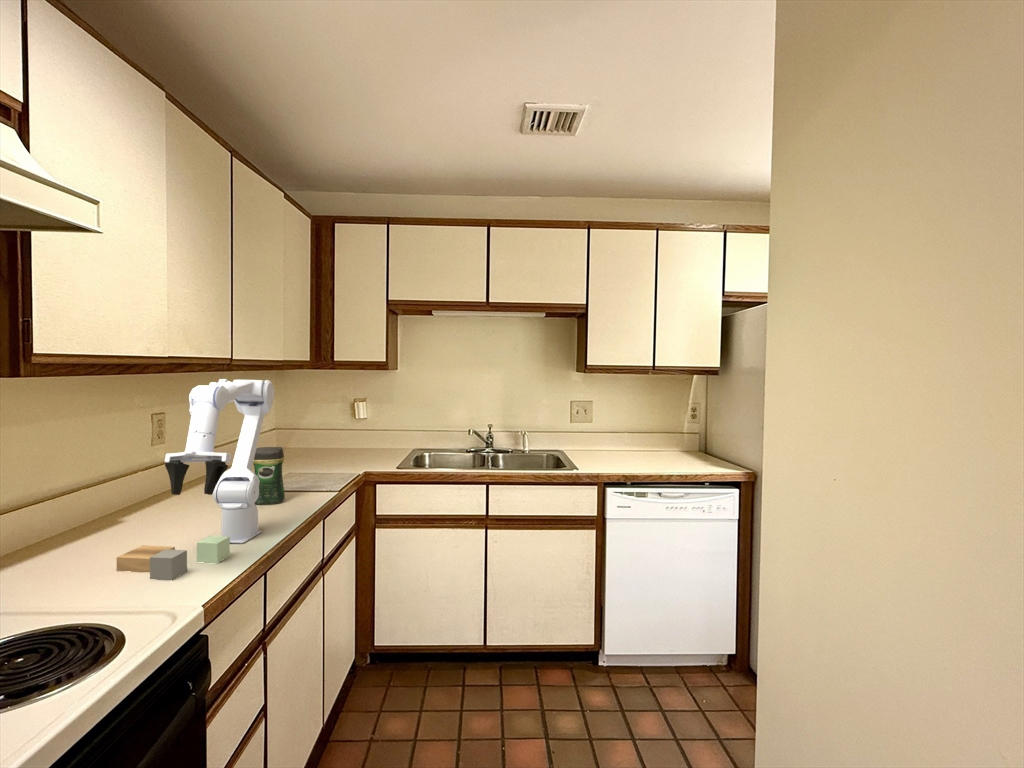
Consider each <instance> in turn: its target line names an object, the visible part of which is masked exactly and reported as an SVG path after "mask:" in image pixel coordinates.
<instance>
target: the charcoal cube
mask: <svg viewBox="0 0 1024 768" xmlns="http://www.w3.org/2000/svg"><path fill="white" fill-rule="evenodd" d="M186 571H187V572H188V549H175V550H169V549H165V550H163V551H161V552H159V553H157V554H155V555H153V556H151V557H150V573H149V580H150V579H156V581H171V580H172V581H174V580H175V579H177V578H179V577H180V576H179V575H181V574H182V573H184V572H186ZM187 572H186V573H187ZM184 574H185V573H184ZM182 575H183V574H182ZM182 575H181V576H182ZM178 576H179V577H178ZM176 577H177V578H176ZM174 578H175V579H174ZM173 579H174V580H173Z"/></svg>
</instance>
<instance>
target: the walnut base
mask: <svg viewBox="0 0 1024 768" xmlns="http://www.w3.org/2000/svg"><path fill="white" fill-rule="evenodd" d="M165 549H169V550H176V546H166V545H165V546H163V545H140V546H138V547H136V548H134V549H132V550H130V551H128V552H125V553H123V554H121V555H119V556H116V572H124V571H131V572H130V573H143V572H150V557H151V556H153V555H155V554H157V553H159V552H161V551H163V550H165Z"/></svg>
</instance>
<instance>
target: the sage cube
mask: <svg viewBox="0 0 1024 768" xmlns="http://www.w3.org/2000/svg"><path fill="white" fill-rule="evenodd" d="M230 545H231V543H230V537H227V536H222V535H208V536H207V537H205V538H203V539H200V540H199V541H197V542H196V563H197V562H204V563H218V562H220V561H222V560H223V559H225V558H226V557H228V556H229V555H230V556H231V552H230V550H231V548H230ZM228 558H229V557H228ZM226 559H227V558H226ZM226 559H225V560H226ZM223 561H224V560H223ZM223 561H222V562H223ZM204 563H203V564H204ZM220 563H221V562H220ZM218 564H219V563H218Z"/></svg>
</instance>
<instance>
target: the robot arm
mask: <svg viewBox="0 0 1024 768" xmlns="http://www.w3.org/2000/svg"><path fill="white" fill-rule="evenodd" d="M274 389H275V388H274V384H273V383H272V381H271V380H269V379H266V380H260V379H259V380H258V379H233V380H232V381H230V380H228V379H227V378H222V379H221V378H220V379H219V380H218V382H216V381H215V382H214V381H212V382H210V383H209V385H197V386H195V387H193V388H192V389H191V391H190V393H189V396H188V402H189V415H190V421H189V427H188V432H187V438H186V444H185V448H184V451H182V452H174V453H173V452H172V453H166V454H165V458H164V466H165V469H166V471H167V474H168V477H169V482H170V489H171V490H170V491H171V493H170V494H171V495H174V496H175V495H176V496H180V495H181V492H182V491H183V484H184V480H185V478H186V477H185V476H186V474H187V471H188V469H189V468H190V464H187V463H205V483H204V488H203V491H204V495H208V496H212V497H213V500H214V502H215V504H217V505H218V508H221V509H220V511H221V514H220V515H221V518H220V519H221V521H220V522H221V536H227V537H230V544H244V543H246V542H248V541H249V540H251V539H253V538H254V537H256V536H258V535H260V534H261V533H262V530H259V508H258V506H257V504H255V502H256V501H257V499H258V495H259V482H260V480H259V478H258V476H257V475H256V474H255V472H254V471H252V470H253V466H254V465H253V461H254V456H255V452H256V448H258V443H259V439H260V434H261V432H262V426H263V423H264V419H265V415H266V414H268V413H270V412H271V409H272V406H273V402H274V397H275V390H274ZM233 402H234V405H235V407H236V410H237V411H238V412H239V413H241V414H242V415H244V417H243V421H242V425H241V430H240V432H239V436H238V441H237V445H236V449H235V453H234V456H233V461H231V460H232V459H231V458H232V454H231V453H228V452H214V450H215V449H214V448H215V444H216V438H217V430H218V426H219V420H220V419H219V418H220V412H221V411H223V410H224V409H225V408H226V405H228V404H230V403H233ZM231 462H232V464H231V466H230V468H229V465H228V464H226V463H229V464H230V463H231ZM228 468H229V469H228Z"/></svg>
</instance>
